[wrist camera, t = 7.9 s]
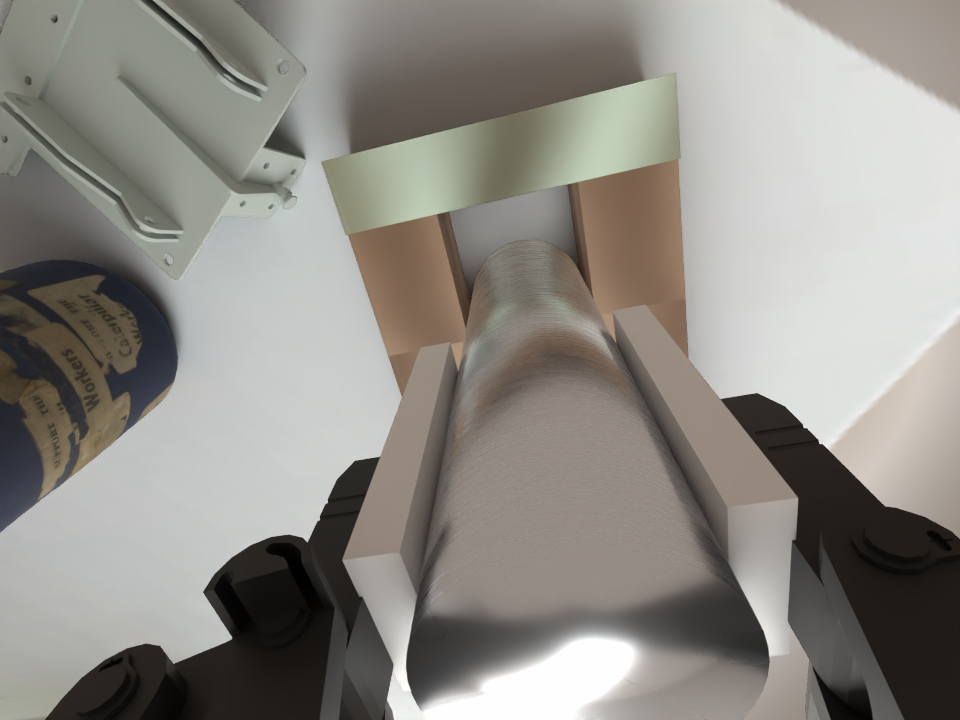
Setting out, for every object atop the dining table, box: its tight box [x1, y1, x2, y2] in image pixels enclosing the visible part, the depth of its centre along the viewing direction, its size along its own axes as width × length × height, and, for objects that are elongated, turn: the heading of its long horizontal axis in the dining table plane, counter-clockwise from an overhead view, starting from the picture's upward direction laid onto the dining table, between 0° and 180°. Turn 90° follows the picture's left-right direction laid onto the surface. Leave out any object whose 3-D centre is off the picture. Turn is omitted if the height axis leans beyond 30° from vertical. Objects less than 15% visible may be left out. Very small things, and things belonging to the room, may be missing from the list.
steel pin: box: [406, 240, 770, 720], centre depth 12 cm, size 4×4×14 cm
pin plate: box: [322, 73, 688, 397], centre depth 26 cm, size 14×24×4 cm, turn 13°
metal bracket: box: [0, 0, 306, 279], centre depth 22 cm, size 14×6×15 cm
